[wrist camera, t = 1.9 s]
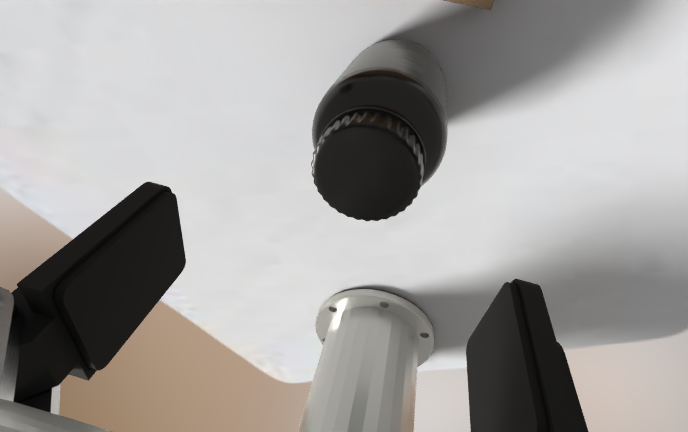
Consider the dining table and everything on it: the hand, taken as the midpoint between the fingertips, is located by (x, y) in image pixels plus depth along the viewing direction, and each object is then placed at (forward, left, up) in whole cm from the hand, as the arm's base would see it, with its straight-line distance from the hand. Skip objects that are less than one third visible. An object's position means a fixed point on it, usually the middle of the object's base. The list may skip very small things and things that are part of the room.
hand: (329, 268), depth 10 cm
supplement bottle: (0, 0, -18) cm, 18 cm away
